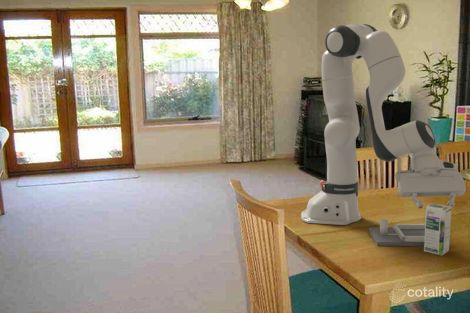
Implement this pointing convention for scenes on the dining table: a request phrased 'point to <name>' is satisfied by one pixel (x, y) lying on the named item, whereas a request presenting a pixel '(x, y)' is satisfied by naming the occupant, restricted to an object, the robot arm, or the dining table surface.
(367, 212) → the dining table surface
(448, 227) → the syrup box
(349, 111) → the robot arm
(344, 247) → the dining table surface
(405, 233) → the grey holder tray
